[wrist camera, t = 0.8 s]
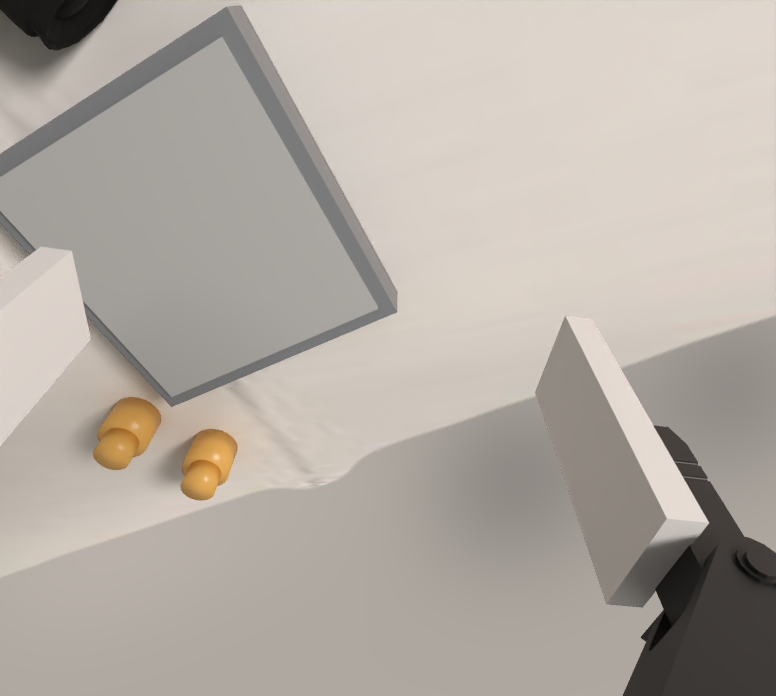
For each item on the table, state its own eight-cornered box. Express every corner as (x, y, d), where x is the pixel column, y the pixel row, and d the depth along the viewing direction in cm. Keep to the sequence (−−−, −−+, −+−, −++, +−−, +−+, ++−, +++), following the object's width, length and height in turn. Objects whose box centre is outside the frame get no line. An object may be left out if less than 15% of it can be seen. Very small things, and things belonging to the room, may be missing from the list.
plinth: (-9, 166, 35) (-45, 182, 32) (241, 5, 30) (224, 6, 27) (184, 383, 45) (169, 410, 42) (397, 291, 39) (397, 315, 37)
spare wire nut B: (184, 437, 48) (163, 481, 44) (220, 423, 47) (202, 466, 43) (211, 465, 50) (193, 510, 46) (246, 452, 49) (231, 496, 45)
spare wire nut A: (104, 406, 46) (74, 449, 42) (140, 391, 45) (112, 433, 41) (135, 436, 48) (109, 480, 44) (170, 422, 47) (147, 466, 43)
